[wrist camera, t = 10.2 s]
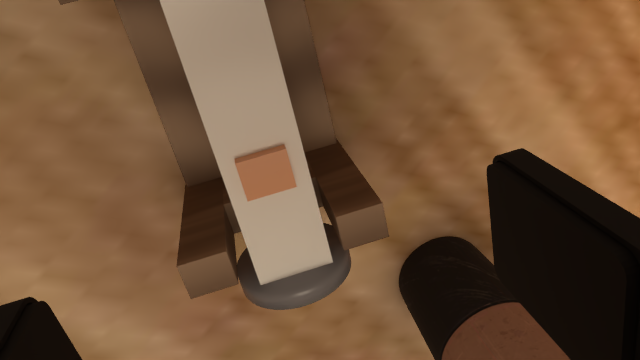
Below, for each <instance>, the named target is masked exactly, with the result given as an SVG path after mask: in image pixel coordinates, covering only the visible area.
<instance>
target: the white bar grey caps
mask: <svg viewBox="0 0 640 360" xmlns="http://www.w3.org/2000/svg"><path fill="white" fill-rule="evenodd" d="M160 3H161V6H162V9H163V12H164V15H165V17H166V20H167V23H168V26H169V29H170V31H171V34H172V37H173V40H174V43H175V46H176V48H177V51H178V54H179V57H180V60H181V62H182V65H183V68H184V71H185V74H186V77H187V79H188V82H189V85H190V88H191V91H192V93H193V96H194V99H195V102H196V105H197V108H198V110H199V113H200V116H201V119H202V122H203V124H204V127H205V130H206V133H207V136H208V139H209V141H210V144H211V147H212V150H213V153H214V155H215V158H216V161H217V164H218V167H219V170H220V172H221V175H222V178H223V181H224V184H225V186H226V189H227V192H228V195H229V198H230V201H231V203H232V206H233V209H234V212H235V215H236V217H237V220H238V223H239V226H240V229H241V232H242V234H243V237H244V240H245V243H246V246H247V248H246V249H245V250H244V252H243V253H242V255H241V256H240V258H239V260H238V263H237V273H238V278H239V280H240V283H241V286H242V288H243V291H244V293H245V295H246V297H247V298H248V299H249V300H250V301H251V302H252V303H254V304H256V305H258V306H260V307H263V308H267V309H274V310H285V309H293V308H299V307H302V306H306V305H309V304H311V303H314V302H316V301H318V300H320V299H322V298H324V297H326V296H327V295H329V294H330V293H332V292H333V291H334V290H336V289H337V288H338V287H339V286H340V285H341V284H342V283H343V281H344V280H345V279H346V277H347V275H348V273H349V271H350V268H351V257H350V253H349V249H348V250H345V251H344V249H343V247H342V245H341V243H340V241H339V238H338V236H337V234H336V232H335V230H334V228H333V226H332V225H329V224H325V223H323V222H322V218H321V214H320V211H319V207H318V203H317V199H316V195H315V192H314V188H313V184H312V180H311V176H310V173H309V169H308V165H307V161H306V157H305V154H304V150H303V146H302V142H301V138H300V135H299V131H298V127H297V123H296V119H295V116H294V112H293V108H292V104H291V101H290V97H289V93H288V89H287V85H286V82H285V78H284V74H283V70H282V66H281V63H280V59H279V55H278V51H277V47H276V44H275V40H274V36H273V32H272V28H271V25H270V21H269V17H268V13H267V9H266V6H265V2H264V0H160Z"/></svg>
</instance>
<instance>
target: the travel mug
mask: <svg viewBox="0 0 640 360" xmlns="http://www.w3.org/2000/svg"><path fill="white" fill-rule="evenodd" d="M399 287H400V292H401V294H402V297H403V299H404V301H405V303H406V305H407V307H408V309H409V311H410V313H411V315H412V317H413V319H414V320H415V322H416V324H417V326H418V328H419V330H420V332H421V334H422V336H423V338H424V340H425V342H426V344H427V345H428V347H429V349H430V351H431V353H432V355H433V357H434V359H435V360H570V359H569V357H568V356H567V355H566V354H565V353H564V352H563V351H562V350H561V348H560V347H559V346H558V345H557V344H556V343H555V342H554V341H553V340H552V338H551V337H550V336H549V335H548V334H547V333H546V332H545V331H544V330H543V328H542V327H541V326H540V325H539V324H538V323H537V322H536V321H535V320H534V318H533V317H532V316H531V315H530V314H529V313H528V312H527V311H526V309H525V308H524V307H523V306H522V305H521V304H520V303H519V302H518V301H517V299H516V298H515V297H514V296H513V295H512V294H511V293H510V292H509V291H508V289H507V288H506V287H505V286H504V285H503V284H502V283H501V281H500V280H499V278H498V276H497V274H496V271H495V266H494V265H493V264H492V263H491V262H490V261H489V260H488V259H487V258H486V257H485V256H484V255H483V254H482V253H481V252H480V251H479V250H478V249H477V248H475V247H474V246H473V245H472V244H470V243H469V242H467V241H465V240H463V239H460V238H456V237H442V238H438V239H434V240H432V241H429V242H427V243H425V244H423V245H422V246H420V247H419V248H418V249H416V250H415V251H414V252H413V253H412V254H411V255H410V256H409V258H408V259H407V260H406V262H405V263H404V265H403V267H402V270H401V273H400V277H399Z"/></svg>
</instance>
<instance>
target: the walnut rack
mask: <svg viewBox="0 0 640 360" xmlns="http://www.w3.org/2000/svg"><path fill="white" fill-rule="evenodd" d="M74 1H78V0H59V2H60V4H61V5H62V4H66V3H70V2H74ZM114 2H115V5H116V7H117V10H118V12H119V15H120V17H121V20H122V22H123V25H124V27H125V30H126V32H127V35H128V37H129V40H130V43H131V45H132V48H133V50H134V53H135V55H136V58H137V60H138V63H139V65H140V68H141V70H142V73H143V75H144V78H145V81H146V83H147V86H148V88H149V91H150V93H151V96H152V98H153V101H154V103H155V106H156V108H157V111H158V113H159V116H160V119H161V121H162V124H163V126H164V129H165V131H166V134H167V136H168V139H169V141H170V144H171V146H172V149H173V151H174V154H175V157H176V159H177V162H178V164H179V167H180V169H181V172H182V174H183V177H184V179H185V182H186V186H185V195H184V204H183V213H182V222H181V231H180V241H179V250H178V259H177V269H178V271H179V273H180V275H181V278H182V280H183V282H184V284H185V287H186V289H187V291H188V293H189V296H190V298H191V299H193V298H196V297H199V296H202V295H205V294H208V293H212V292H215V291H218V290H221V289H224V288H227V287H231V286H234V285H237V284H238V273H237V262H236V251H235V239H234V233H238V232H241V229H240V226H239V223H238V220H237V217H236V215H235V212H234V209H233V206H232V203H231V201H230V198H229V195H228V192H227V189H226V186H225V184H224V181H223V178H222V175H221V172H220V170H219V167H218V164H217V161H216V158H215V155H214V153H213V150H212V147H211V144H210V141H209V139H208V136H207V133H206V130H205V127H204V124H203V122H202V119H201V116H200V113H199V110H198V108H197V105H196V102H195V99H194V96H193V93H192V91H191V88H190V85H189V82H188V79H187V77H186V74H185V71H184V68H183V65H182V62H181V60H180V57H179V54H178V51H177V48H176V46H175V43H174V40H173V37H172V34H171V31H170V29H169V26H168V23H167V20H166V17H165V15H164V12H163V9H162V6H161V3H160V0H114ZM264 2H265V6H266V9H267V13H268V17H269V21H270V25H271V28H272V32H273V36H274V40H275V44H276V47H277V51H278V55H279V59H280V63H281V66H282V70H283V74H284V78H285V82H286V85H287V89H288V93H289V97H290V101H291V104H292V108H293V112H294V116H295V119H296V123H297V127H298V131H299V135H300V138H301V142H302V146H303V150H304V154H305V157H306V161H307V165H308V169H309V173H310V176H311V180H312V184H313V188H314V192H315V195H316V199H317V203H318V207H323V206H324V208H325V211H326V213H327V215H328V217H329V219H330V221H331V223H332V226H333V228H334V230H335V232H336V234H337V236H338V238H339V241H340V243H341V245H342V247H343V249H344V251H345V250H348V249H351V248H354V247H357V246H360V245H364V244H367V243H370V242H373V241H376V240H379V239H383V238H386V237H389V234H388V228H387V223H386V218H385V213H384V208H383V203H382V202H381V200H380V199H379V197H378V196H377V195H376V193H375V192H374V190H373V189H372V188H371V186H370V185H369V183H368V182H367V181H366V179H365V178H364V177H363V175H362V174H361V172H360V171H359V170H358V168H357V167H356V165H355V164H354V163H353V161H352V160H351V158H350V157H349V156H348V154H347V153H346V152H345V150H344V149H343V147H342V146H341V145H340V143H339V142H338V140H337V139H336V137H335V133H334V129H333V124H332V120H331V116H330V111H329V107H328V102H327V98H326V94H325V89H324V85H323V81H322V76H321V72H320V67H319V63H318V59H317V54H316V50H315V46H314V41H313V37H312V32H311V28H310V24H309V19H308V15H307V11H306V6H305V2H304V0H264Z"/></svg>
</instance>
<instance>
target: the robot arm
mask: <svg viewBox="0 0 640 360" xmlns="http://www.w3.org/2000/svg"><path fill="white" fill-rule="evenodd" d="M487 183H488V195H489V207H490V219H491V231H492V243H493V256H494V266H495V271H496V274H497V276H498V278H499V280H500V281H501V283H502V284H503V285H504V286H505V287H506V288H507V289H508V291H509V292H510V293H511V294H512V295H513V296H514V297H515V298H516V299H517V301H518V302H519V303H520V304H521V305H522V306H523V307H524V308H525V309H526V311H527V312H528V313H529V314H530V315H531V316H532V317H533V318H534V320H535V321H536V322H537V323H538V324H539V325H540V326H541V327H542V328H543V330H544V331H545V332H546V333H547V334H548V335H549V336H550V337H551V338H552V340H553V341H554V342H555V343H556V344H557V345H558V346H559V347H560V348H561V350H562V351H563V352H564V353H565V354H566V355H567V356H568V357H569V359H570V360H640V218H638V217H637V216H635V215H633V214H632V213H630V212H628V211H627V210H625V209H623V208H622V207H620V206H618V205H617V204H615V203H613V202H612V201H610V200H608V199H607V198H605V197H603V196H602V195H600V194H598V193H597V192H595V191H593V190H592V189H590V188H588V187H587V186H585V185H583V184H582V183H580V182H578V181H577V180H575V179H573V178H572V177H570V176H568V175H567V174H565V173H563V172H562V171H560V170H558V169H557V168H555V167H553V166H552V165H550V164H548V163H547V162H545V161H544V160H542V159H540V158H539V157H537V156H535V155H534V154H532V153H530V152H529V151H527V150H525V149H522V148H521V149H517V150H514V151H511V152H507V153H504V154H501V155H497V156H495V157H494V159H493V164H491V165H489V166H488V167H487ZM0 360H82V359H81V357H80V355H79V354H78V352H77V351H76V349H75V347H74V346H73V344H72V342H71V341H70V339H69V338H68V336H67V334H66V333H65V331H64V329H63V328H62V326H61V324H60V323H59V321H58V320H57V318H56V316H55V315H54V313H53V311H52V310H51V308H50V307H49V305H48V304H47V303H46V302H44V301H39V302H38V301H37V300H36V299H34V298H32V297H28V298H24V299H21V300H18V301H14V302H11V303H8V304H4V305H1V306H0Z"/></svg>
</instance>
